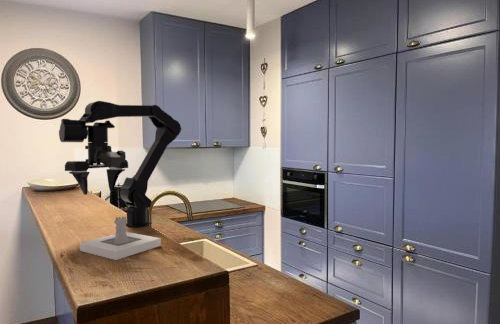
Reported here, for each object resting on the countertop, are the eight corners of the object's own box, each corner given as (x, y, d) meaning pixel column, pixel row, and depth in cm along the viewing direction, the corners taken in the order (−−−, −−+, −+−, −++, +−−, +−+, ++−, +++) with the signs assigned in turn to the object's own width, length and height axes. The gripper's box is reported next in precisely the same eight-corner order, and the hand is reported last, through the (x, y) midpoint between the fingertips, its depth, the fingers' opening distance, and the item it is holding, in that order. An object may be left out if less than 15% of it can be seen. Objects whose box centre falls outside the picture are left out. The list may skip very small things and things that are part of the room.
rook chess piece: (111, 247, 93) (111, 216, 92) (129, 245, 95) (129, 215, 94) (112, 251, 89) (112, 220, 88) (131, 249, 91) (130, 218, 90)
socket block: (125, 238, 101) (125, 231, 101) (160, 245, 94) (160, 237, 94) (79, 250, 89) (79, 242, 89) (115, 260, 82) (115, 251, 82)
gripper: (87, 142, 97) (88, 198, 98) (139, 142, 113) (140, 191, 114) (63, 142, 103) (64, 195, 103) (116, 142, 119) (117, 189, 119)
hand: (99, 192), depth 110 cm, fingers open, 9 cm apart
